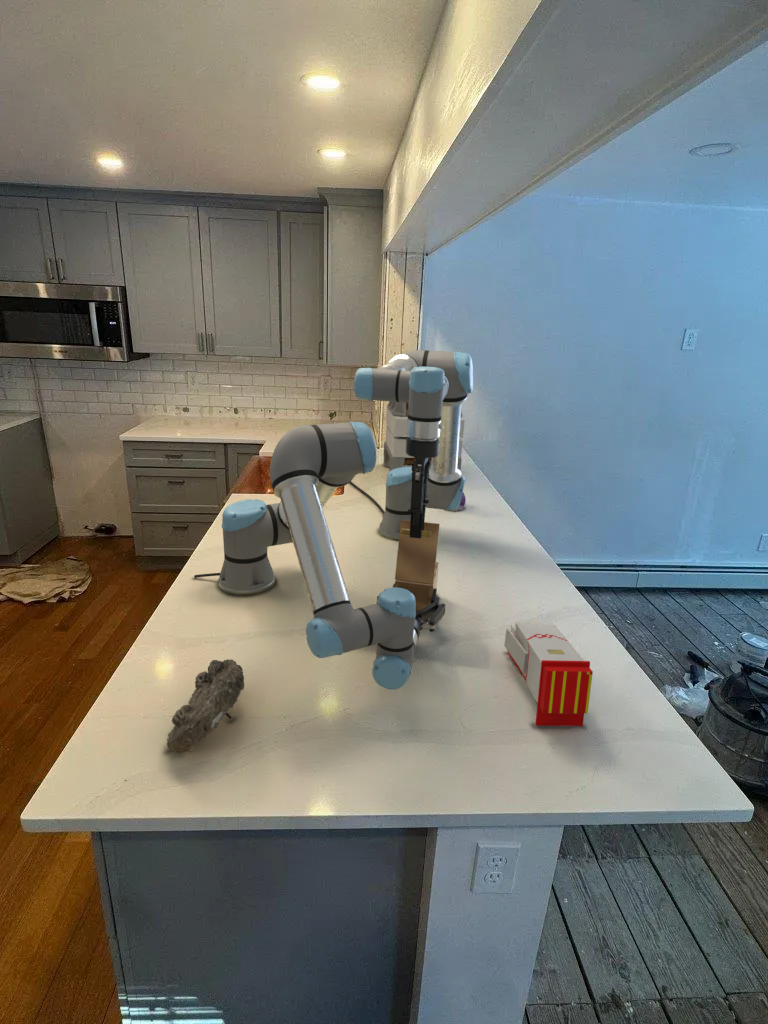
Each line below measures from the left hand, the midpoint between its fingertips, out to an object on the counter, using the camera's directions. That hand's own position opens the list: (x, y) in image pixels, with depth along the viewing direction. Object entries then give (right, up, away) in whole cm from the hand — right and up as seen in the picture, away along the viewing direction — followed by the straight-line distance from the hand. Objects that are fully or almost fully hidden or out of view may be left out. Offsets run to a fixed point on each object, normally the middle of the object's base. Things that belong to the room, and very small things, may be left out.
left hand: (414, 590), depth 147 cm
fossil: (-41, -19, -39) cm, 59 cm away
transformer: (+9, +39, +128) cm, 134 cm away
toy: (+25, -17, -25) cm, 39 cm away
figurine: (+21, +22, +82) cm, 87 cm away
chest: (0, -5, +6) cm, 7 cm away
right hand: (0, +15, -11) cm, 19 cm away
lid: (0, +11, -4) cm, 11 cm away
